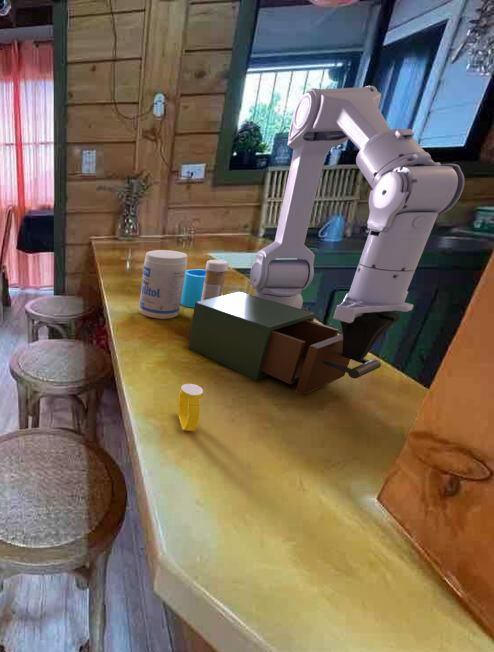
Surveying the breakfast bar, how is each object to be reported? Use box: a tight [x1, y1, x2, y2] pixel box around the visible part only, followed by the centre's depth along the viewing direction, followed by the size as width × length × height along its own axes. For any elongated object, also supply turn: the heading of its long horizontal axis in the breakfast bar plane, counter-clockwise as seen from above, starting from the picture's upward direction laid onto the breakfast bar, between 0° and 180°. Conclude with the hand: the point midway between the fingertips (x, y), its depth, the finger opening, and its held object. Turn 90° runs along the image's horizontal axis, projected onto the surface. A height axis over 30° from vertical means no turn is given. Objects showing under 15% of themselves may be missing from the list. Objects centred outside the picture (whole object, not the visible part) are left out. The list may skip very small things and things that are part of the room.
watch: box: [177, 383, 204, 432], centre depth 51 cm, size 6×3×6 cm, turn 171°
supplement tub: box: [138, 249, 188, 320], centre depth 90 cm, size 10×10×15 cm
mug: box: [180, 268, 206, 309], centre depth 99 cm, size 12×8×8 cm
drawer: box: [261, 320, 382, 395], centre depth 61 cm, size 18×11×8 cm, turn 28°
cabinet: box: [187, 291, 317, 381], centre depth 69 cm, size 15×13×10 cm
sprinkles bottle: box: [201, 259, 230, 301], centre depth 87 cm, size 5×5×14 cm
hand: (352, 357), depth 55 cm, fingers closed
